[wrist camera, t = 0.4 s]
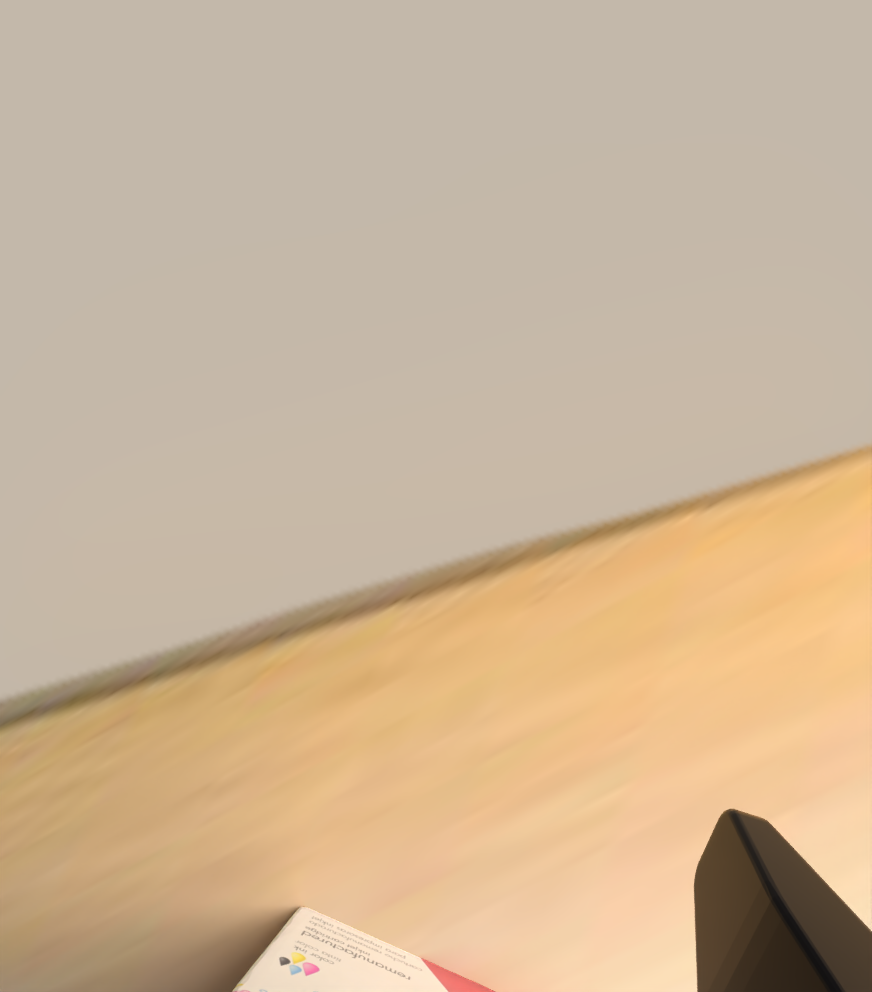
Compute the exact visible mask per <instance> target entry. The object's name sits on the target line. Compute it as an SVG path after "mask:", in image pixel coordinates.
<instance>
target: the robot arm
mask: <svg viewBox="0 0 872 992" xmlns="http://www.w3.org/2000/svg"><path fill="white" fill-rule="evenodd" d="M694 903H695V932H696V962H697V992H872V931H871V930H870V929H869V928H868V927H867V926H866V925H865V924H864V923H863V922H862V921H861V920H860V918H859V917H858V916H857V915H856V914H855V913H854V912H853V911H852V910H851V909H850V908H849V907H848V906H847V905H846V904H845V902H844V901H843V900H842V899H841V898H840V897H839V896H838V895H837V894H836V893H835V892H834V891H833V890H832V889H831V888H830V887H829V885H828V884H827V883H826V882H825V881H824V880H823V879H822V878H821V877H820V876H819V875H818V874H817V873H816V872H815V871H814V869H813V868H812V867H811V866H810V865H809V864H808V863H807V862H806V861H805V860H804V859H803V858H802V857H801V856H800V855H799V853H798V852H797V851H796V850H795V849H794V848H793V847H792V846H791V845H790V844H789V843H788V842H787V841H786V840H785V839H784V838H783V836H782V835H781V834H780V833H779V832H778V831H777V830H776V829H775V828H774V827H773V826H772V825H771V824H770V823H769V822H768V821H767V820H765V819H763V818H760V817H757V816H754V815H751V814H748V813H745V812H741V811H738V810H735V809H729V810H726V811H724V812H723V814H722V815H721V816H720V818H719V820H718V822H717V824H716V826H715V828H714V830H713V833H712V835H711V837H710V839H709V841H708V843H707V846H706V848H705V850H704V852H703V854H702V856H701V859H700V861H699V863H698V866H697V869H696V874H695V880H694Z"/></svg>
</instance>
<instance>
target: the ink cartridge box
mask: <svg viewBox="0 0 872 992" xmlns="http://www.w3.org/2000/svg"><path fill="white" fill-rule="evenodd" d="M232 992H495V991H493V990H491V989H489V988H486V987H484V986H482V985H480V984H478V983H476V982H473V981H471V980H469V979H466V978H464V977H462V976H460V975H458V974H456V973H453V972H451V971H448V970H446V969H444V968H442V967H440V966H438V965H436V964H433V963H431V962H429V961H427V960H424V959H422V958H420V957H417V956H415V955H413V954H411V953H408V952H406V951H404V950H402V949H399V948H397V947H395V946H393V945H391V944H388V943H386V942H384V941H381V940H379V939H377V938H374V937H372V936H370V935H368V934H366V933H363V932H361V931H359V930H357V929H355V928H352V927H350V926H348V925H346V924H343V923H341V922H339V921H337V920H335V919H332V918H330V917H328V916H326V915H323V914H321V913H319V912H317V911H314V910H312V909H310V908H307V907H300V908H298V909H297V911H296V912H295V913H294V914H293V915H292V917H291V918H290V919H289V920H288V922H287V923H286V924H285V925H284V927H283V928H282V929H281V931H280V932H279V933H278V934H277V936H276V937H275V938H274V939H273V940H272V942H271V943H270V944H269V946H268V947H267V948H266V949H265V951H264V952H263V953H262V954H261V955H260V957H259V958H258V959H257V960H256V962H255V963H254V964H253V965H252V967H251V968H250V969H249V970H248V972H247V973H246V974H245V976H244V977H243V978H242V979H241V980H240V982H239V983H238V984H237V985H236V987H235V988H234V989H233V991H232Z"/></svg>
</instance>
